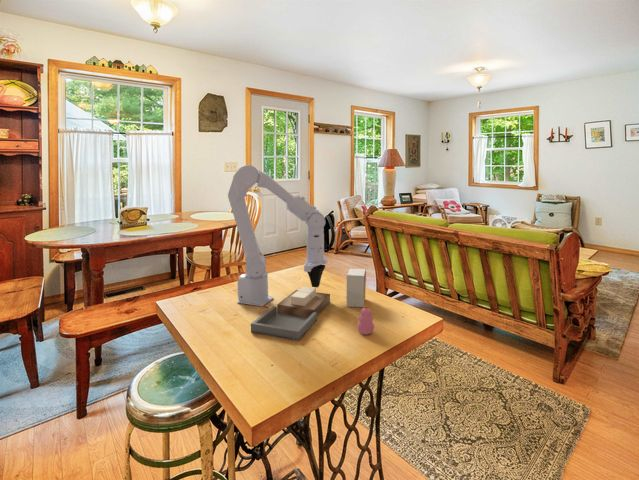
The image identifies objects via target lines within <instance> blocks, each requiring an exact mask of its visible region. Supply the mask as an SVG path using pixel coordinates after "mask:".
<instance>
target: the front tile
mask: <svg viewBox="0 0 639 480" xmlns="http://www.w3.org/2000/svg"><path fill="white" fill-rule="evenodd" d="M308 302H310V293H305V292H298V291H297V292H296V293H294V294H293V295H292V296H291V304H294V305H301V306H305V305H306V304H307V303H308Z"/></svg>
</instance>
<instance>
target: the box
mask: <svg viewBox="0 0 639 480" xmlns="http://www.w3.org/2000/svg"><path fill="white" fill-rule="evenodd" d="M317 317H318V316H317V313H316V312H313V313H312V314H311V315H310V316H309V317H308V318H306V317H300V316H293V315H287V314H281V313H277V305H276V306H274V305H273V306H271V307H270V308H269V309H267V311H265V312H264V313H263V314H261V315H260V316H258V317H257V318H256V319H255V320H253V321H252V322H251V323H250V333H253V334H257V335H265V336H270V337H276V338H282V339H286V340H292V341H296V342H297V341H298V342H299V341H300V340H301V339H302V337H304V335H306V333H307V332H308V331H309V330H310V329H311V328H312V327H313V326H314V324H315V323H316V322H317V321H318V318H317Z"/></svg>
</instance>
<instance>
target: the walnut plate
mask: <svg viewBox="0 0 639 480" xmlns="http://www.w3.org/2000/svg"><path fill="white" fill-rule="evenodd" d="M298 290H299V289H294V291H292V293H290V294H289V295H288V296H286V297H284V299H282V300H281V301H280V302H278V303H277V304H276V309H277V313H281V314H287V315H293V316H300V317H306V318H308V317H309V316H310V315H311V314H312V313H313V312H316V313H317V317H318V316H319V315H320V314H321V313H322V312H323V311H324V310H325V309H326V308H327V306H329V305H330V303H331V294H330V293H326V292H325V293H324V292H318V291H316V296H315V297H314V298H313V299H312V300H310V302H308V303H307V304H306V305H305V306H301V305H294V304H291V296H292V295H293V294H294V293H296V292H297V291H298Z"/></svg>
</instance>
